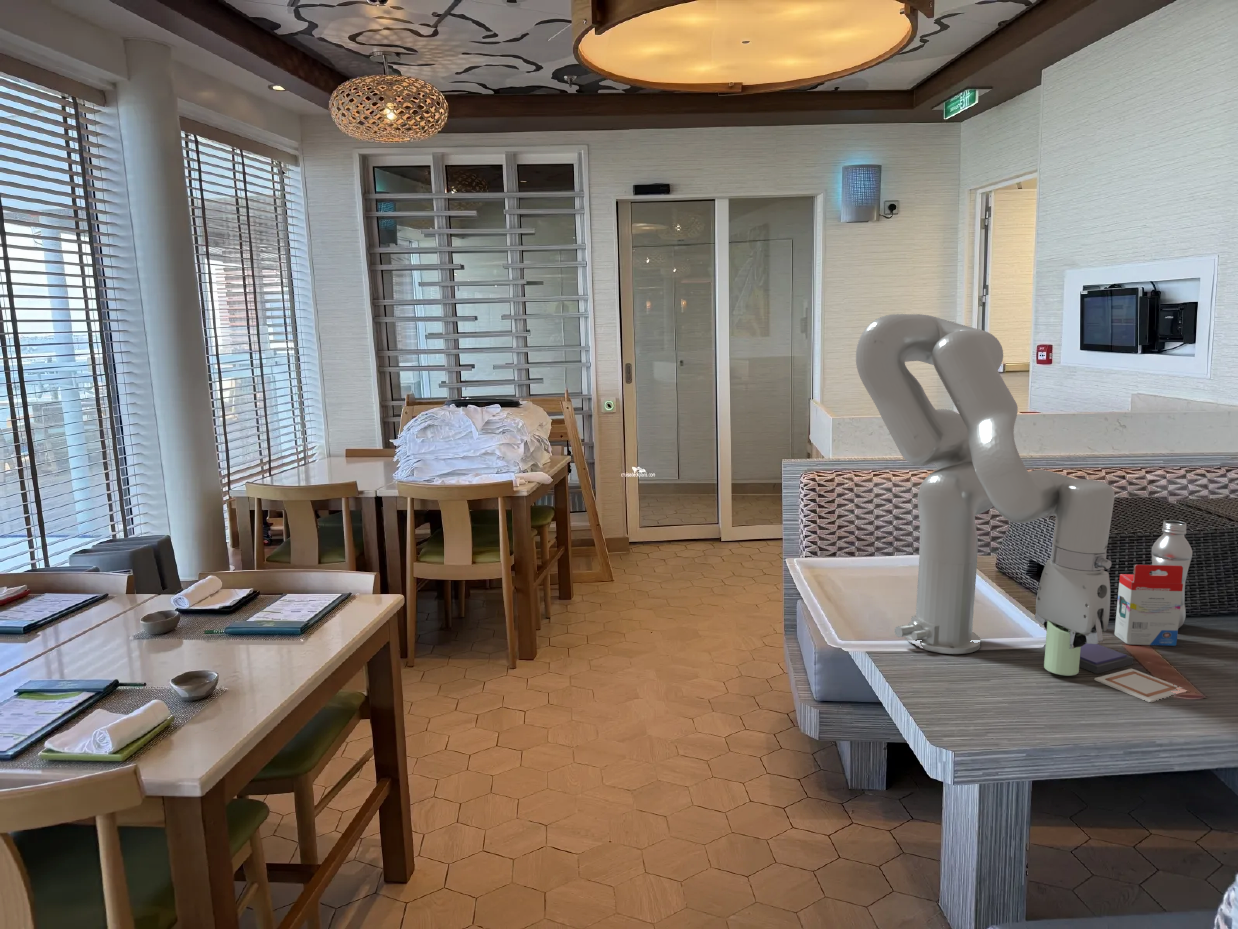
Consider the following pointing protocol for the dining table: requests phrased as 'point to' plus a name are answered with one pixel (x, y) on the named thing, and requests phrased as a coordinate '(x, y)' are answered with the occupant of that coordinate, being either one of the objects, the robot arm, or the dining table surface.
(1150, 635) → the ink box
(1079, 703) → the dining table surface
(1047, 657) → the candle
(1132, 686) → the square coaster
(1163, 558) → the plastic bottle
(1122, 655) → the ink pad
